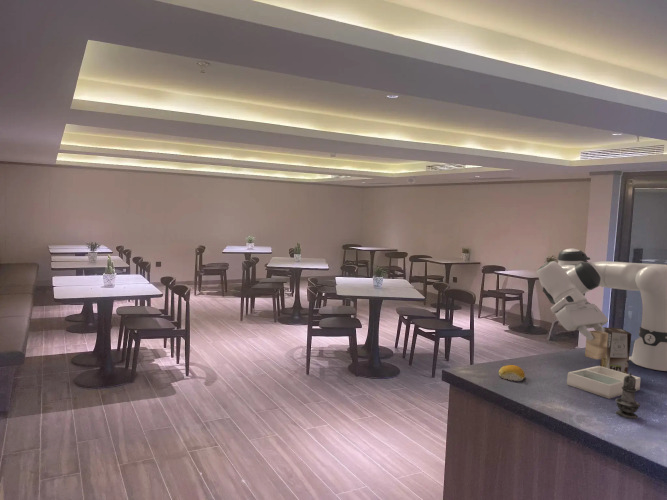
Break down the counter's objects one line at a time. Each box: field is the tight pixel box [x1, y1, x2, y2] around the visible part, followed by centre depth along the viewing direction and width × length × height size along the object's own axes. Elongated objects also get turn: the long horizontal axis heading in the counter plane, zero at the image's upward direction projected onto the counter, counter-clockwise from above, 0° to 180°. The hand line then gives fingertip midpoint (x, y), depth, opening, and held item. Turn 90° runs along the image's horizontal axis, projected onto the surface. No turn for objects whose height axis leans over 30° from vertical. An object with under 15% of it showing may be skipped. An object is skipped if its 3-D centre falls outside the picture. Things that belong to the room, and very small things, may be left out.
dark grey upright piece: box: [615, 372, 641, 420], centre depth 135 cm, size 6×6×12 cm
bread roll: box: [498, 364, 526, 382], centre depth 164 cm, size 8×9×4 cm
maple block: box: [584, 329, 608, 360], centre depth 155 cm, size 5×4×8 cm
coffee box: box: [599, 326, 633, 374], centre depth 172 cm, size 9×6×16 cm
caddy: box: [566, 365, 641, 400], centre depth 158 cm, size 18×14×4 cm
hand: (598, 338), depth 155 cm, fingers closed on maple block, 5 cm apart
